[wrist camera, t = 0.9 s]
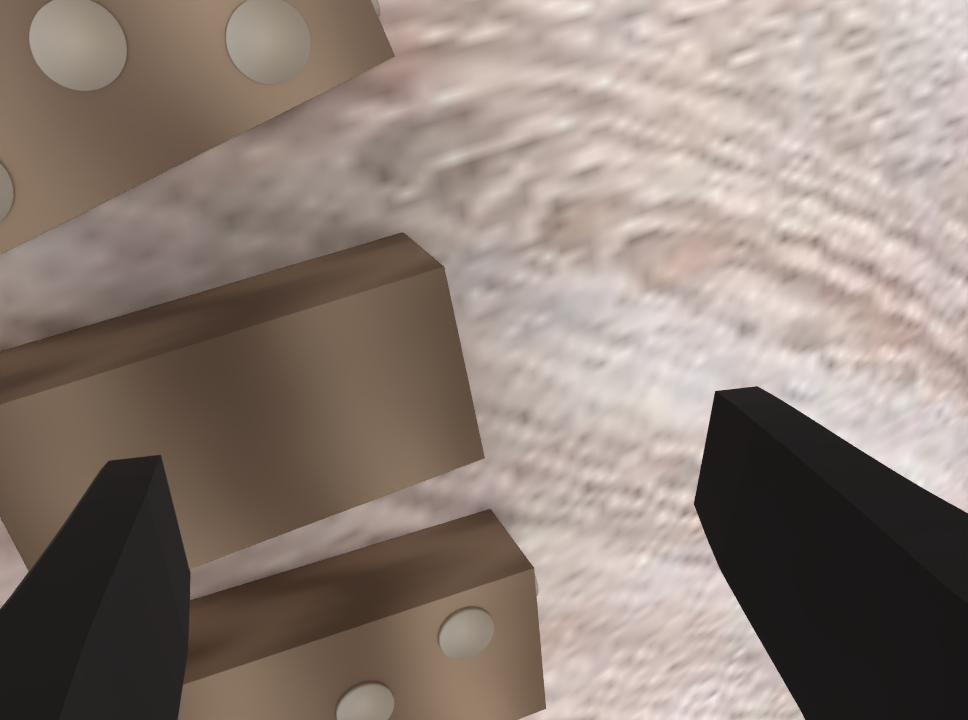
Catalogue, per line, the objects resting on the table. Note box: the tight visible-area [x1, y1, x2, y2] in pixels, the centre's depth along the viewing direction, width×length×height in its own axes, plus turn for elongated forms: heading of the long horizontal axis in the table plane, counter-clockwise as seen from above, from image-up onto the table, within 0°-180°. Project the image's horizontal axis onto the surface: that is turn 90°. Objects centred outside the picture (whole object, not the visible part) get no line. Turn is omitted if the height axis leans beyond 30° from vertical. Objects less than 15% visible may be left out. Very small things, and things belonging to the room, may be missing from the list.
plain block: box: [0, 233, 485, 571], centre depth 24 cm, size 12×6×4 cm, turn 101°
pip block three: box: [178, 509, 546, 720], centre depth 29 cm, size 12×6×4 cm, turn 96°
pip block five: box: [0, 0, 395, 254], centre depth 20 cm, size 12×6×4 cm, turn 113°
